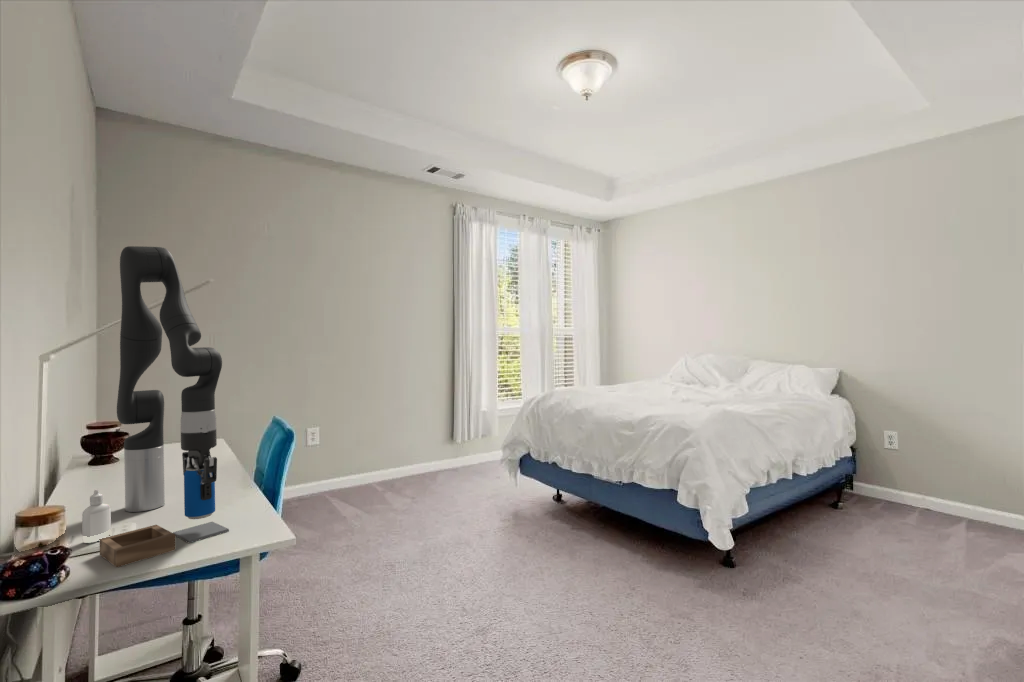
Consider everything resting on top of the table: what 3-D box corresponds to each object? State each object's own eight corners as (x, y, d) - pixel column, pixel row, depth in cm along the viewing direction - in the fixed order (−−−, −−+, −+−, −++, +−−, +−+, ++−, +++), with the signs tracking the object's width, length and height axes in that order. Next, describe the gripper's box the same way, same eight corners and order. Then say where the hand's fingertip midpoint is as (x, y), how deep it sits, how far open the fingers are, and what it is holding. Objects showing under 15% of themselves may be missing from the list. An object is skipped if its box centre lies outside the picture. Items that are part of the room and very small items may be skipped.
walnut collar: (99, 554, 115) (99, 539, 115) (156, 539, 124) (156, 524, 124) (116, 567, 109) (116, 550, 109) (175, 549, 118) (175, 534, 118)
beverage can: (209, 509, 132) (208, 462, 132) (219, 514, 128) (218, 466, 128) (180, 516, 127) (179, 467, 127) (190, 522, 123) (189, 471, 123)
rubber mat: (173, 534, 127) (173, 532, 127) (212, 523, 134) (212, 521, 134) (188, 542, 122) (188, 540, 122) (228, 531, 129) (228, 528, 129)
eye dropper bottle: (113, 538, 125) (113, 488, 125) (84, 545, 121) (83, 494, 121) (109, 534, 128) (108, 485, 128) (80, 541, 124) (79, 490, 124)
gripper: (169, 428, 129) (170, 495, 129) (194, 434, 120) (195, 506, 120) (202, 424, 135) (203, 488, 135) (228, 429, 126) (229, 498, 126)
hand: (199, 496), depth 128 cm, fingers closed on beverage can, 6 cm apart
